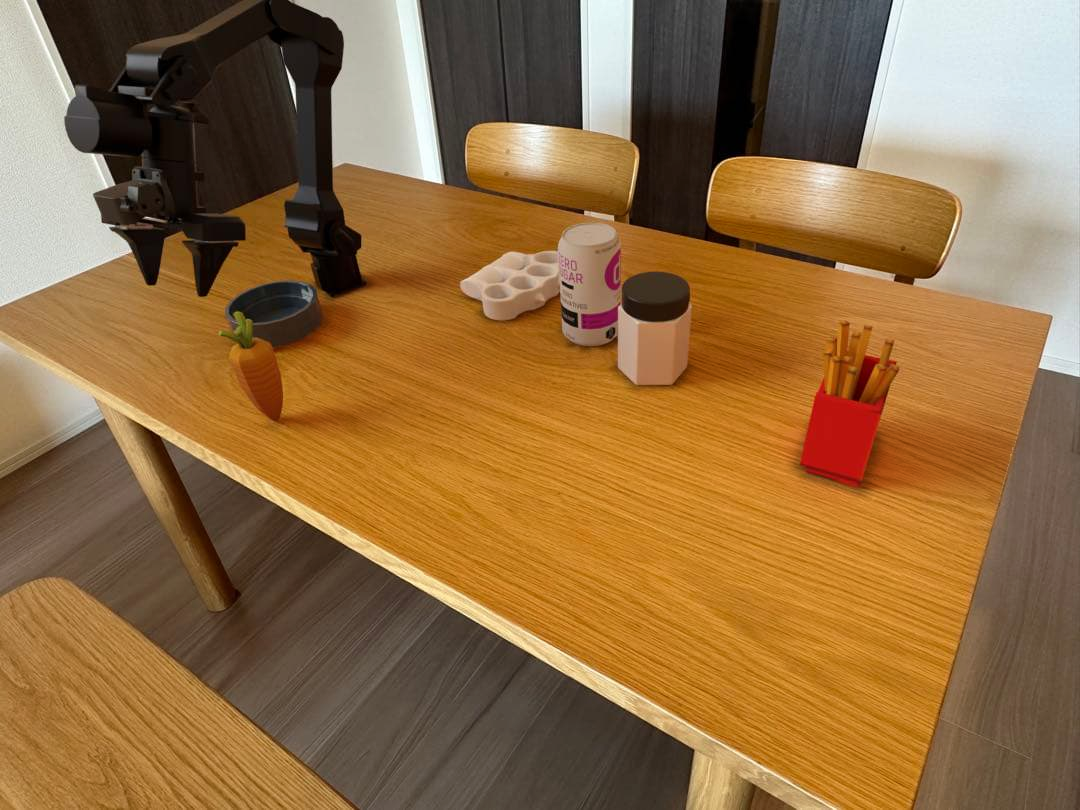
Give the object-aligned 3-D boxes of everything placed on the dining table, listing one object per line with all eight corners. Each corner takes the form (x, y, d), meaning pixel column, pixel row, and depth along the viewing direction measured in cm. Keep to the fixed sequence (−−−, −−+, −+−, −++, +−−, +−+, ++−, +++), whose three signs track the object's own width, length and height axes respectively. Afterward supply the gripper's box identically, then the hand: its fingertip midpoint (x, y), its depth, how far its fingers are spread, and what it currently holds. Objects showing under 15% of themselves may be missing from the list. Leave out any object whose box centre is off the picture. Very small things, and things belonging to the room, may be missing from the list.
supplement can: (628, 323, 100) (629, 224, 91) (608, 353, 94) (607, 251, 85) (576, 313, 103) (572, 217, 94) (553, 342, 97) (547, 243, 88)
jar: (698, 375, 89) (706, 292, 81) (644, 395, 86) (647, 311, 79) (659, 343, 95) (663, 263, 88) (608, 360, 93) (607, 280, 85)
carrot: (285, 434, 85) (245, 330, 75) (248, 431, 86) (204, 327, 76) (303, 409, 88) (268, 307, 79) (268, 406, 89) (229, 305, 80)
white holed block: (518, 258, 118) (590, 278, 111) (447, 304, 108) (521, 330, 100) (517, 240, 116) (590, 259, 109) (444, 284, 105) (519, 309, 98)
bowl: (303, 297, 113) (296, 271, 110) (338, 327, 104) (331, 301, 101) (223, 326, 107) (212, 301, 104) (252, 362, 98) (242, 335, 95)
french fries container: (792, 469, 74) (815, 362, 66) (812, 420, 80) (835, 316, 72) (862, 490, 71) (896, 380, 63) (877, 437, 77) (910, 330, 69)
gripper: (49, 148, 79) (63, 284, 84) (162, 162, 72) (171, 310, 77) (140, 156, 89) (148, 278, 94) (247, 169, 82) (250, 300, 87)
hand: (176, 290), depth 88 cm, fingers open, 9 cm apart
